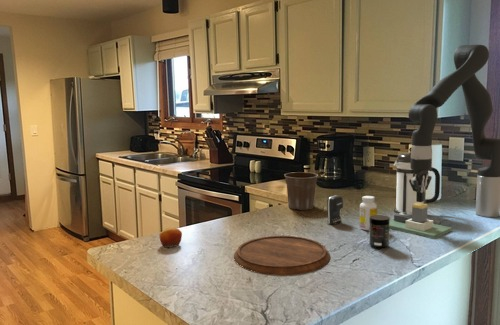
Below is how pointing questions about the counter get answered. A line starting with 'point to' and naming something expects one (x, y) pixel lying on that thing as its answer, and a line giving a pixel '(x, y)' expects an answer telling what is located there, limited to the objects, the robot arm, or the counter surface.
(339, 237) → the counter surface
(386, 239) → the supplement container
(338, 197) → the battery charger
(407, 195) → the coffee press
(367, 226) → the supplement bottle
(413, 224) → the header board
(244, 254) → the cutting board
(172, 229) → the fruit
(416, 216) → the plug
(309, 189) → the plant pot
